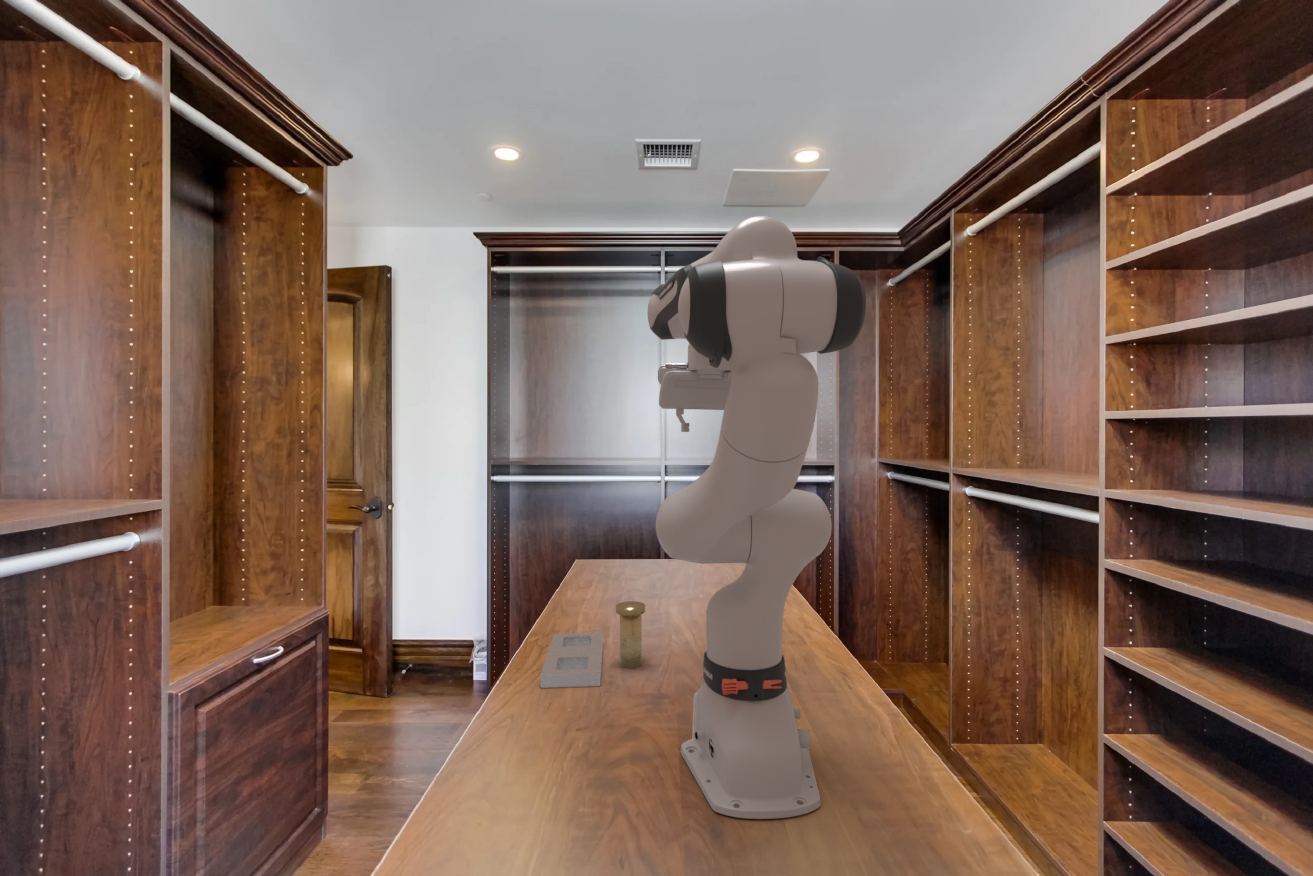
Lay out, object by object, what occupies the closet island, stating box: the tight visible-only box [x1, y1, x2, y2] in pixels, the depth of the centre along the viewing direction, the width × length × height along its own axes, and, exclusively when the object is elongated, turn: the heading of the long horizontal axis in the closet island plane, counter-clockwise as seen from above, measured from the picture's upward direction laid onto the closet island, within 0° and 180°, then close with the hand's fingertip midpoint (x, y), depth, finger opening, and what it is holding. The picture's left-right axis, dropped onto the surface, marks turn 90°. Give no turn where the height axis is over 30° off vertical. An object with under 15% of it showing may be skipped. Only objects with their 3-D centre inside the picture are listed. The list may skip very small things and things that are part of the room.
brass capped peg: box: [615, 601, 646, 669], centre depth 118 cm, size 6×6×12 cm
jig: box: [540, 632, 604, 689], centre depth 119 cm, size 22×11×2 cm, turn 4°
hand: (708, 432), depth 116 cm, fingers open, 8 cm apart
